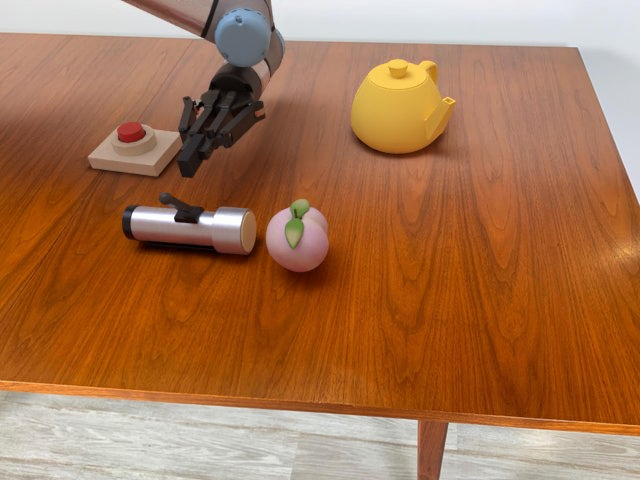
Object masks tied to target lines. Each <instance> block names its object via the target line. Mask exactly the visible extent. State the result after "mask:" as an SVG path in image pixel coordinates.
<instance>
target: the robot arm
mask: <svg viewBox="0 0 640 480" xmlns="http://www.w3.org/2000/svg"><path fill="white" fill-rule="evenodd" d="M120 1H121V2H123V3H126V4H128V5H129V6H132V7H134V8H136V9H138V10H141V11H143V12H145V13H146V14H147V13H148V14H149V15H152V16H154V17H156V18H158V19H160V20H162V21H165V22H167V23H169V24H171V25H174V26H175V27H177V28H179V29H181V30H184V31H186V32H188V33H190V34H193V35H195V36H196V37H199V38H201V39H203V40H206V41H207V42H209V43H212V44H214V45H215V46H216V49H217V51H218V53H219V54H220V56H221V57H222V58H223V59H224V61H223V63H222V64H221V65H220V67H219V68H218V70H217V71H216V73H214V75H213V77H212V78H211V80H210V82H209V87H208V89H207V91H205V92H203V93H202V94H200V98H196V99H195V98H193V99H192V97H191V96H189V95H186V96H183V97H182V103H183V110H182V113H181V117H180V120H179V124H178V127H177V132H179V134H180V137H181V140H182V143H183V145H182V146H181V149H180V152H181V153H180V154H179V156H178V158H177V159H176V163H177V167H178V169H179V173H180V176H181V178H186V179H194V177H195V175H196V173H197V172H198V170H199V168H200V167H201V165H202V164H203V162H204V161H208V160H209V159H210V158H211V157H212V155H213V154H214V152H215V151H216V150H218V149H219V148H220V147H223V148H224V149H230V148H232V147H233V146H234V145H235V144H236V143H238V141H239V140H241V138H242V137H243V136H244V135H245V134H247V133H248V131H249V130H251V129H252V128H253V126H255V125H256V124H257V123H259V122H261V121H263V120H264V119H266V118H267V115H266V109H265V103H264V101H263V100H260V99H261V98H262V95H263V93H264V92H265V90H266V88H267V87H268V84H269V83H270V81H271V79H272V77H273V76H274V74H275V73H276V71H277V70H278V69H279V68H280V66H281V64H282V62H283V59H284V56H285V52H286V43H285V39H284V36H283V35H282V33H281V32H280V31H279V29H278V28H277V27H276V24H275V21H274V14H273V5H272V0H120ZM201 108H203V110H202V112H201V113H200V112H199V111H200V110H201Z"/></svg>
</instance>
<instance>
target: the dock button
mask: <svg viewBox="0 0 640 480" xmlns="http://www.w3.org/2000/svg"><path fill="white" fill-rule="evenodd" d="M141 124H142V123H140V122H138V121H129V122H124V123H122V124H121V125H120V126H119V125H118V126H119V127H118V126H117V127H118V128H117V127H116V128H117V133H118V135H119V138H120V140H121V142H123V143H131V142H137V141H139V140H141V139H143V138H144V136H145V133H144V130H143V127H142V125H141Z"/></svg>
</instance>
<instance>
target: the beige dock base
mask: <svg viewBox="0 0 640 480" xmlns="http://www.w3.org/2000/svg"><path fill="white" fill-rule="evenodd" d="M140 124H141V125H142V127H143V130H144V133H145V136H144V138H143V139H141V140H139V141H137V142H131V143H123V142H121V140H120V138H119V135H118V133H117V128H118V127H119V126H120V125H118V126H116V127H115V129H114V130H113V131H111V133H110V134H109V135H108V136H107V137H106V138H105V139H104V140H103V141H102V142H101V143H100V144H99V145H98V146H96V148H95V149H94V150H93V151H91V153H89V155H88V156H87V159H88V162H89V164H90V167H91V168H92V169H96V170H105V171H111V172H118V173H119V172H120V173H127V174H134V175H142V176H150V177H159V175H160V174H161V173H162V172H163V171H164V169H165V168H166V167H167V166H168V165H169V163H170V162H171V161H172V160H173V158H174V157H175V156H176V155H177V154H178V152H179V151H181V146H182V145H183V143H182V140H181V137H180V134H179V131H171V130H163V129H156V128H155V129H154V128H153V127H151V126H149V125H148V124H142V123H140Z"/></svg>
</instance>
